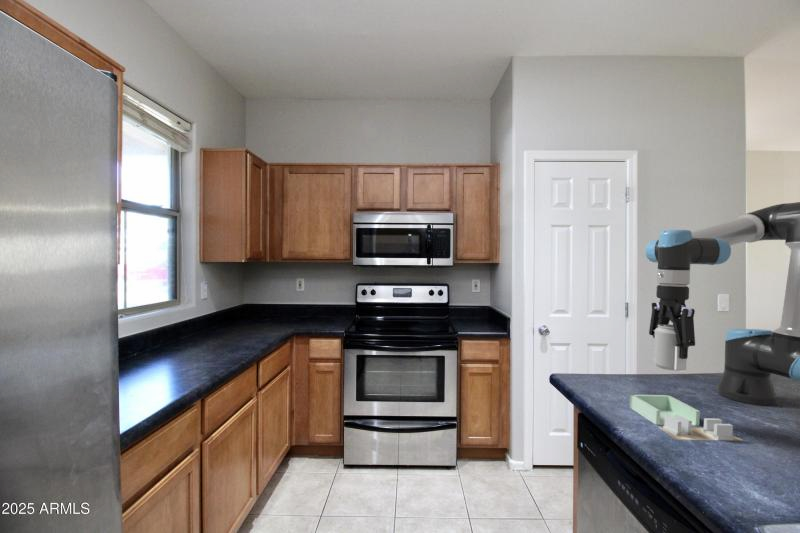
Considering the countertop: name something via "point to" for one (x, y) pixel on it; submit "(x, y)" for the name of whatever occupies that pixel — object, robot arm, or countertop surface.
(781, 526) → the countertop surface
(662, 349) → the can
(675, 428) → the clip
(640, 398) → the green open box
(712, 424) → the clip
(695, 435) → the board
